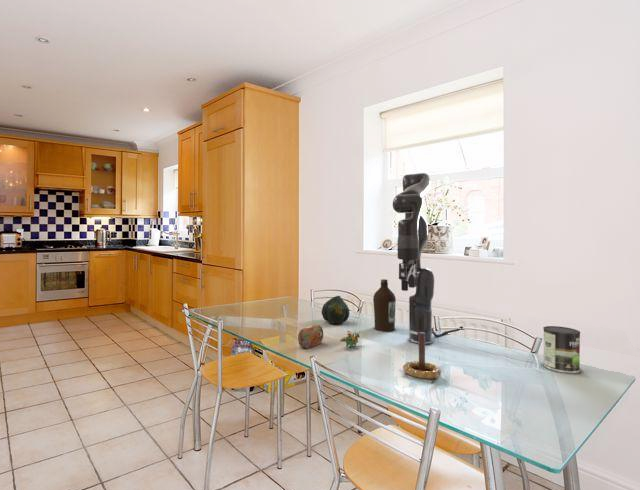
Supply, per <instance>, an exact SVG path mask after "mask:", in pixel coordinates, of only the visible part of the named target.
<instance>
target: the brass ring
mask: <svg viewBox="0 0 640 490" xmlns="http://www.w3.org/2000/svg"><path fill="white" fill-rule="evenodd" d="M415 368H417V369H419V361H415V360H414V361H407V362H406V363H405V364H403V365H402V369H403V371H404V373H407V374H406V375H408V374H409V375H408V376H410V377H414V378H417V379H423V380H430V379H433V378H434V379H435V378H437V379H438V378H440V376H442V370H441V368H440V367H439V366H437V365H436V364H433V363H430V362H426V361H425V369H426V370H430V371H419V370H415ZM434 379H433V380H434Z"/></svg>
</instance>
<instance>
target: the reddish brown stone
mask: <svg viewBox="0 0 640 490" xmlns="http://www.w3.org/2000/svg"><path fill="white" fill-rule="evenodd" d="M323 339H324V330H323V328H322V327H321V325H315V324H313V325H310V326H307V327H303V328H301V329H300V330H299V332H298V334H297V341H298V342H297V343H298V345H299V346H300V347H301V348H304V349H310V348H312V347H316V346H318V345H321V343H322V342H323Z"/></svg>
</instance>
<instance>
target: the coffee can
mask: <svg viewBox="0 0 640 490" xmlns="http://www.w3.org/2000/svg"><path fill="white" fill-rule="evenodd" d="M542 330H543V367H544V368H546V369H548V370H551V371H554V372H559V373H565V374H578V373H580V372H581V370H580V367H581V366H580V361H581V360H580V357H581V351H580V350H581V349H580V348H581V345H580V344H581V331H580V330H578V329H576V328H571V327H566V326H558V325H557V326H556V325H546V326H543V329H542Z"/></svg>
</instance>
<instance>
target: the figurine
mask: <svg viewBox="0 0 640 490" xmlns="http://www.w3.org/2000/svg"><path fill="white" fill-rule="evenodd" d="M351 333H352V332H351V330H347V336H346V337H343V338H341V339H340V340H339V342H341V343H343V342H344V343H345V344H346V348H349V349H352V347H353V346H354V348H355V347H356V345H357V343H359V338H361V337H360V333H359V332H354V333H352V334H351Z"/></svg>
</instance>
